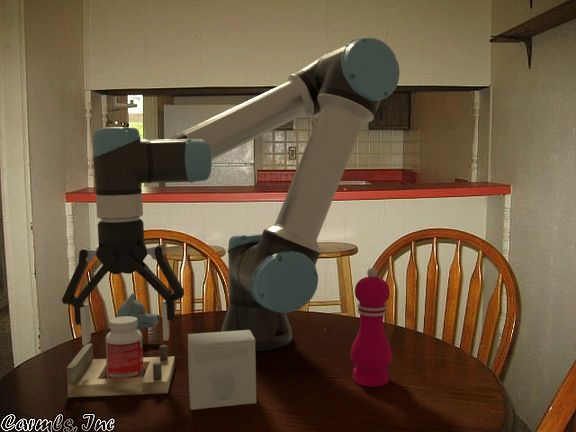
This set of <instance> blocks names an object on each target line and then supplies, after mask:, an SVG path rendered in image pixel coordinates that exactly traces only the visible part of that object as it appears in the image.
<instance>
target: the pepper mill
mask: <svg viewBox="0 0 576 432" xmlns="http://www.w3.org/2000/svg"><path fill="white" fill-rule="evenodd" d="M366 273H367V276H365V277H363V278H360V279H359V280H358V282H357V283H356V284H355V288H354V295H355V296H354V297H355V298H356V300H357V302H359V303H358V304H357V313H358V314H359V318H360V321H359V329H358V333H357V335H356V337H355V338H354V341H353V343H352V345H351V349H350V360H351V362H352V364H353V365H354V366H355V367H353V368H352V379H353V381H354V382H355V383H356V384H358V385H360V386H363V387H375V388H376V387H382V386H385V385H387V384H388V383H389V382H390V371H389V369H388V367H389V366H390V365H391V363H392V361H393V352H392V349H391V345H390V343H389V340H388V338H387V335H386V332H385V329H384V317H385V315H386V314H387V304H385V303H386V302H387V301H388V300H389V298H390V296H391V295H390V294H391V292H390V287H389V285H388V282H387V281H386V280H385V279H383V278H382V277H379V276H378V273H379V272H378V270H377V268H374V267H371V268H370V267H369V269H368V270H367V272H366Z"/></svg>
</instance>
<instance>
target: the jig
mask: <svg viewBox="0 0 576 432" xmlns="http://www.w3.org/2000/svg"><path fill="white" fill-rule="evenodd" d="M93 352H94V348H93V343H88V344H87V345H83V347H82V348H81V349H80V350H79V351H78V353H77V354H76V355H75V357H74V358H73V359H72V361H71V362H70V363H69V364H68V365H67V366H66V380H67V382H66V383H67V398H81V397H84V398H85V397H104V396H105V397H106V396H107V397H109V396H110V397H111V396H127V395H128V396H132V395H151V394H152V395H157V394H168V393H169V390H170V386H171V382H172V379H173V375H174V370H175V368H176V366H175V365H176V364H175V362H176V360H175V359H176V357H175V356H173V355H172V356H168V354H169V353H168V345H167V344H162V345H159V356H151V357H150V356H149V357H144V356H143V373H144V374H143V377H141V378H116V379H107V367H106V358H94V353H93Z"/></svg>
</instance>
